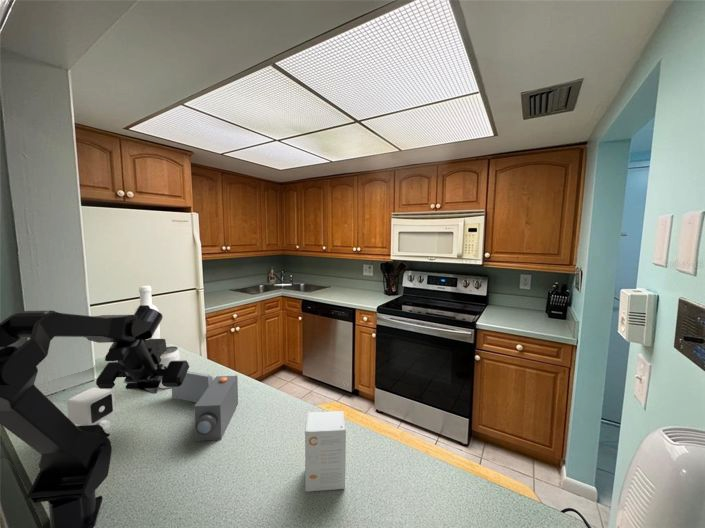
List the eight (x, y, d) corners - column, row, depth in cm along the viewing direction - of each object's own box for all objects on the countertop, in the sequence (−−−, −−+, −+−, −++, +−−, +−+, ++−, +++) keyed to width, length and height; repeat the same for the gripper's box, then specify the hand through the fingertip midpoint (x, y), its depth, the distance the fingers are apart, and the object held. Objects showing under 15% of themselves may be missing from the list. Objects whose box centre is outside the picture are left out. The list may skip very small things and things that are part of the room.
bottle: (159, 356, 115) (155, 283, 112) (164, 362, 110) (160, 286, 107) (134, 362, 109) (129, 286, 106) (138, 369, 104) (133, 289, 101)
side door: (213, 401, 85) (212, 373, 84) (208, 404, 83) (207, 376, 83) (177, 394, 88) (175, 367, 88) (172, 397, 87) (170, 370, 86)
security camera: (90, 442, 68) (86, 403, 67) (67, 437, 70) (63, 399, 68) (116, 425, 74) (114, 389, 73) (95, 421, 76) (92, 385, 75)
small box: (343, 464, 63) (344, 410, 62) (345, 490, 57) (346, 429, 56) (306, 466, 63) (306, 411, 61) (304, 492, 56) (304, 431, 55)
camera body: (218, 446, 68) (216, 407, 67) (184, 448, 67) (182, 409, 66) (238, 403, 85) (237, 372, 84) (212, 404, 84) (211, 372, 83)
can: (159, 381, 96) (158, 347, 95) (181, 377, 99) (180, 344, 98) (155, 391, 90) (153, 355, 89) (179, 387, 93) (177, 351, 92)
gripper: (189, 328, 73) (203, 364, 83) (111, 329, 71) (133, 365, 80) (171, 367, 65) (188, 402, 74) (80, 368, 62) (110, 404, 72)
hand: (155, 391), depth 75 cm, fingers closed
